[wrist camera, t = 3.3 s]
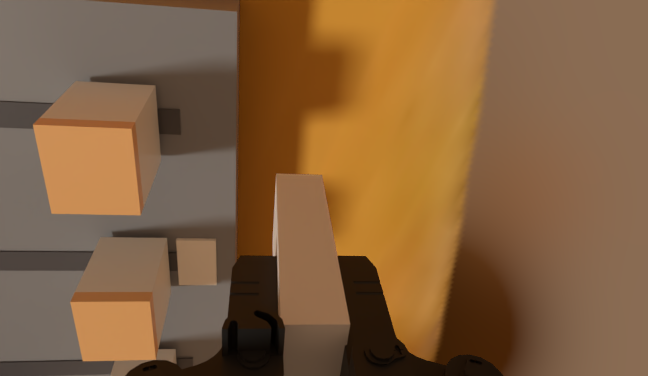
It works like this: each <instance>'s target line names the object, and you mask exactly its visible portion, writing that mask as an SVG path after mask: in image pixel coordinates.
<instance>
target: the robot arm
mask: <svg viewBox="0 0 648 376" xmlns="http://www.w3.org/2000/svg"><path fill="white" fill-rule="evenodd" d="M125 376H503V375H502V374H501V372H500V371H499V370H498V369H496V368H495V366H494V365H493V364H491V363H490V362H488V361H486V360H484V359H482V358H481V357H477V356H472V355H458V356H456V357H454V358H452V359H451V360H450V361H449V362H448V364H447V365H446V366H445V365H442V364H438V363H434V362H430V361H426V360H424V359H421V358H418V357H416V356H414V355H413V354H411V353H409V352H408V350H407V349H406V347H405V345H404V344H403V343H402V342H401V341H399V340H398V339H397V337H396V335H395V332H394V329H393V325H392V322H391V318H390V315H389V311H388V308H387V304H386V301H385V297H384V295H383V290H382V287H381V284H380V280H379V276H378V273H377V269H376V267H375V266H374V265H373V264H372V263H371V262H370V261H369V259H368V258H367V257H366V256H337V252H336V246H335V241H334V236H333V230H332V225H331V220H330V215H329V209H328V204H327V199H326V194H325V188H324V183H323V178H322V175H306V174H279V173H276V185H275V204H274V223H273V256H240V257H239V259H238V260H237V262H236V263H235V264H234V266H233V267H232V274H231V285H230V296H229V307H228V317H227V318H226V319H225V321H224V324H223V327H222V347H221V349H220V351H219V352H218V353H217V354H216V355H215V356H213V357H212V358H210V359H209V360H207V361H205V362H203V363H200V364H198V365H195V366H191V367H188V368H184V369H181V368H180V367H179V366H178V365H177V364H175V363H172V362H170V361H167V360H152V361H148V362H145V363H141V364H139V365H138V366H136V367H135V368H133V369H131V370H130V371H129V372H128V373H127V374H126V375H125Z"/></svg>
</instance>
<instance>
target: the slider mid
mask: <svg viewBox="0 0 648 376" xmlns="http://www.w3.org/2000/svg"><path fill="white" fill-rule="evenodd" d="M170 295H171V284H170V270H169V257H168V244H167V238H132V237H100V239H99V241H98V243H97V246H96V248H95V250H94V252H93V254H92V256H91V258H90V261H89V263H88V265H87V267H86V269H85V271H84V273H83V276H82V278H81V280H80V282H79V284H78V286H77V288H76V291H75V293H74V295H73V297H72V299H71V301H70V303H71V308H72V313H73V317H74V322H75V327H76V332H77V336H78V341H79V346H80V351H81V355H82V360H83V361H123V360H156V357H157V353H158V348H159V344H160V339H161V335H162V330H163V326H164V322H165V317H166V313H167V308H168V304H169V299H170Z"/></svg>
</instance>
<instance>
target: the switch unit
mask: <svg viewBox="0 0 648 376" xmlns="http://www.w3.org/2000/svg"><path fill="white" fill-rule="evenodd" d="M239 24H240V0H0V376H110V375H111V372H112V368H113V365H114V362H115V361H83V360H82V355H81V351H80V346H79V341H78V336H77V332H76V327H75V322H74V317H73V313H72V308H71V303H70V301H71V299H72V297H73V295H74V293H75V291H76V288H77V286H78V284H79V282H80V280H81V278H82V276H83V273H84V271H85V269H86V267H87V265H88V263H89V261H90V258H91V256H92V254H93V252H94V250H95V248H96V246H97V243H98V241H99V239H100V237H132V238H167V244H168V257H169V270H170V284H171V295H170V299H169V304H168V308H167V313H166V317H165V322H164V326H163V330H162V335H161V339H160V344H159V348H158V349H176V362H177V365H178V366H179V367H180V368H181V369H184V368H188V367H191V366H195V365H198V364H200V363H203V362H205V361H207V360H209V359H210V358H212V357H213V356H215V355H216V354H217V353H218V352H219V351H220V349H221V347H222V327H223V324H224V321H225V319H226V318H227V317H228V307H229V296H230V285H231V274H232V267H233V266H234V264H235V263H236V262H237V229H238V126H239ZM75 81H83V82H102V83H120V84H139V85H155V87H156V100H157V113H158V126H159V139H160V153H161V162H160V165H159V168H158V170H157V173H156V176H155V178H154V181H153V184H152V186H151V189H150V192H149V194H148V197H147V200H146V202H145V205H144V208H143V210H142V213H141V215H91V214H52V213H51V209H50V204H49V199H48V194H47V190H46V185H45V180H44V175H43V171H42V166H41V161H40V157H39V152H38V147H37V142H36V138H35V133H34V128H33V124H34V123H35V122H36V121H37V120H38V119H39V118H40V117H41V116H42V115H43V114H44V113H45V112H46V111H47V110H48V109H49V108H50V107H51V106H52V105H53V104H54V103H55V102H56V101H57V100H58V99H59V98H60V97H61V96H62V95H63V94H64V93H65V92H66V91H67V90H68V89H69V88H70V87H71V86H72V84H73V83H74V82H75Z"/></svg>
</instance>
